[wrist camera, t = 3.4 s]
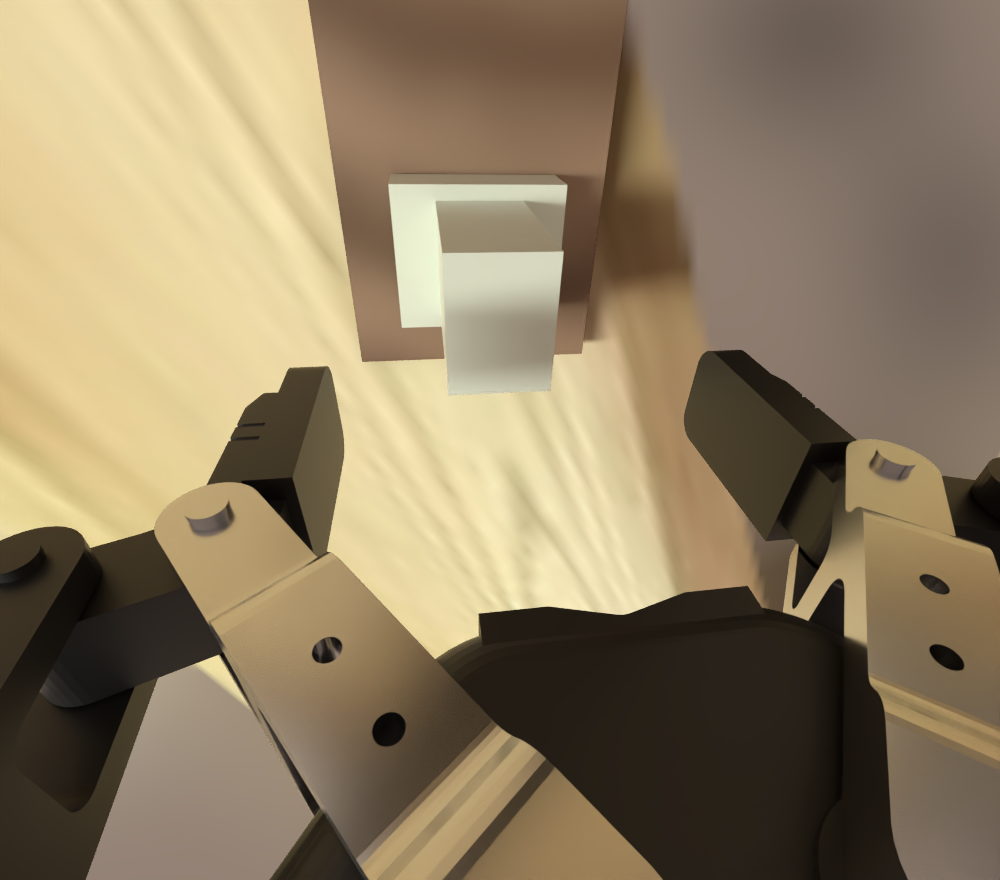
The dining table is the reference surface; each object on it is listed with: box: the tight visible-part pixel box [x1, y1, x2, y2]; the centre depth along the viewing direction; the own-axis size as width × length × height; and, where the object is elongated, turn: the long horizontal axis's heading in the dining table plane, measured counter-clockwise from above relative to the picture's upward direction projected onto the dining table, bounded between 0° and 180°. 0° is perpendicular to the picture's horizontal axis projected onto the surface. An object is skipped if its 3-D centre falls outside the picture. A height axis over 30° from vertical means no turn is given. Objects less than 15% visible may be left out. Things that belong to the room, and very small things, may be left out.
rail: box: [308, 0, 628, 362], centre depth 16 cm, size 24×10×4 cm, turn 178°
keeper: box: [388, 174, 567, 396], centre depth 17 cm, size 5×6×8 cm
